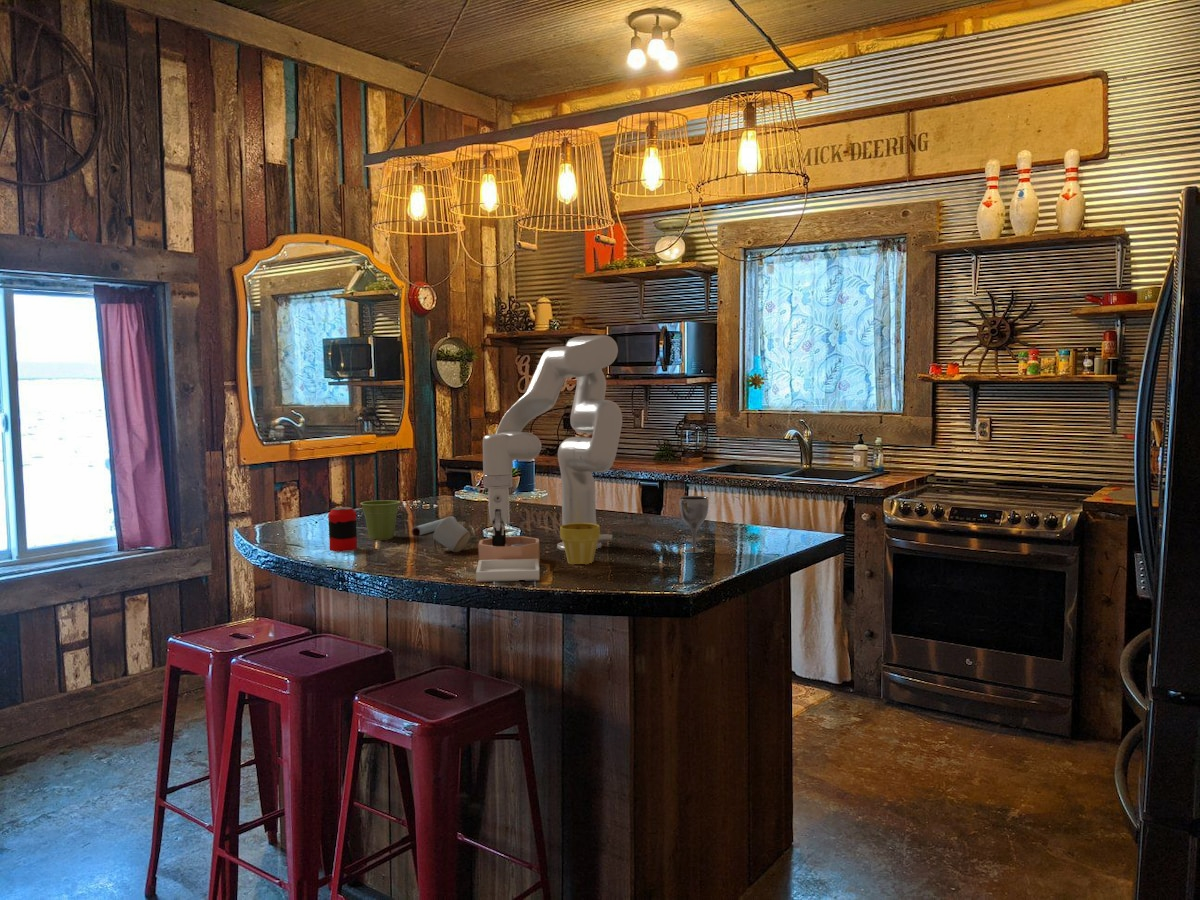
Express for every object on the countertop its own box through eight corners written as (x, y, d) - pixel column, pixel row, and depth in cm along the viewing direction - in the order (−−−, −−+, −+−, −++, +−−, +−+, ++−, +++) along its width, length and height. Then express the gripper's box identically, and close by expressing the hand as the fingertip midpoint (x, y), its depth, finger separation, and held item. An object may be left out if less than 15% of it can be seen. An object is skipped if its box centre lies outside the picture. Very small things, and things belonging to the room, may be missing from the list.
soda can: (331, 553, 263) (329, 511, 262) (328, 549, 270) (326, 507, 269) (358, 551, 266) (357, 509, 265) (355, 547, 273) (353, 506, 272)
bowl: (538, 555, 256) (538, 535, 255) (539, 567, 240) (539, 545, 240) (480, 557, 255) (480, 537, 254) (478, 569, 239) (477, 547, 239)
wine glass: (712, 550, 261) (712, 496, 260) (703, 555, 254) (703, 500, 252) (685, 548, 264) (685, 495, 263) (675, 553, 257) (675, 498, 256)
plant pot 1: (409, 537, 288) (408, 501, 288) (381, 543, 278) (380, 505, 278) (381, 534, 295) (380, 498, 294) (353, 540, 285) (351, 503, 284)
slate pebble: (527, 557, 250) (527, 542, 250) (527, 561, 246) (527, 545, 245) (511, 558, 250) (510, 543, 249) (510, 561, 245) (510, 546, 245)
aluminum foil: (420, 537, 290) (420, 526, 290) (402, 536, 293) (401, 525, 292) (457, 526, 311) (456, 516, 311) (439, 525, 314) (439, 515, 313)
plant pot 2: (586, 568, 238) (585, 530, 238) (552, 564, 244) (552, 527, 243) (607, 561, 247) (607, 524, 246) (574, 557, 253) (574, 521, 252)
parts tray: (538, 568, 239) (538, 558, 239) (539, 580, 224) (539, 570, 224) (479, 569, 238) (478, 560, 238) (476, 582, 223) (475, 572, 223)
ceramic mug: (453, 559, 261) (459, 540, 257) (430, 542, 263) (436, 523, 258) (474, 540, 269) (481, 521, 265) (452, 524, 271) (458, 505, 267)
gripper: (511, 484, 237) (513, 553, 239) (512, 477, 255) (514, 541, 256) (481, 485, 237) (483, 554, 238) (484, 478, 254) (486, 542, 255)
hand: (499, 547), depth 247 cm, fingers open, 8 cm apart
